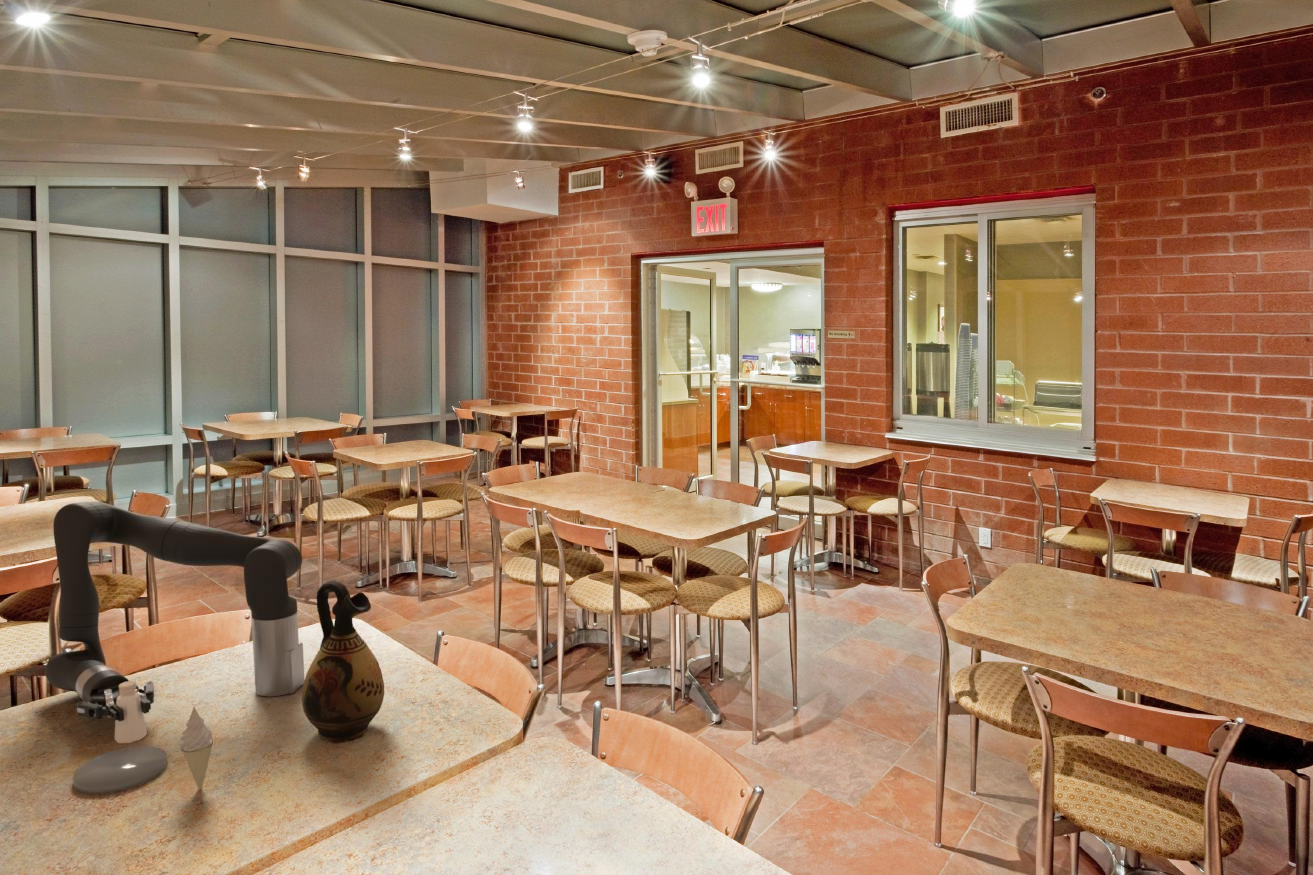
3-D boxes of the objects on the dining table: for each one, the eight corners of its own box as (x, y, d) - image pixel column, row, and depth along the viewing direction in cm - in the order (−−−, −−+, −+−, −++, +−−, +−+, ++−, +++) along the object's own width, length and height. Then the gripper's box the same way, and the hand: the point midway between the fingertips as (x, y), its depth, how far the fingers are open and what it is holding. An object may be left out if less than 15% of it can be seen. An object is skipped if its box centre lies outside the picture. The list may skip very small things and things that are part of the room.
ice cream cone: (191, 781, 141) (186, 700, 140) (221, 780, 142) (216, 699, 140) (177, 797, 136) (171, 713, 135) (208, 796, 137) (203, 712, 135)
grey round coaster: (183, 753, 151) (183, 745, 151) (135, 794, 137) (134, 786, 137) (109, 752, 151) (109, 745, 151) (53, 793, 137) (53, 785, 137)
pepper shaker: (154, 732, 159) (150, 679, 158) (128, 745, 154) (124, 691, 153) (133, 728, 161) (130, 675, 159) (107, 741, 156) (103, 686, 154)
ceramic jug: (402, 721, 164) (397, 579, 161) (344, 756, 150) (337, 601, 147) (341, 705, 171) (335, 569, 168) (279, 737, 157) (272, 589, 154)
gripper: (60, 681, 160) (90, 706, 149) (140, 659, 171) (173, 681, 160) (63, 717, 160) (93, 744, 150) (142, 693, 171) (175, 717, 161)
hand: (134, 711), depth 155 cm, fingers closed on pepper shaker, 3 cm apart
